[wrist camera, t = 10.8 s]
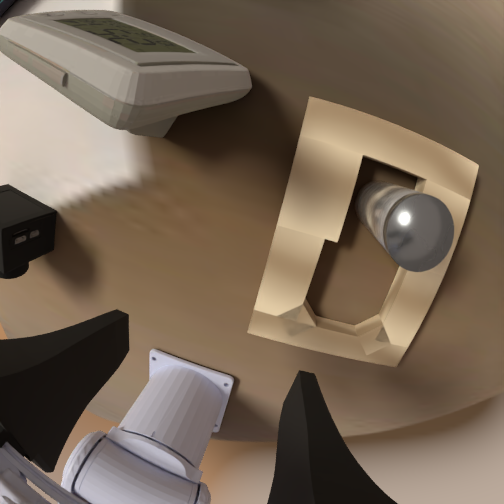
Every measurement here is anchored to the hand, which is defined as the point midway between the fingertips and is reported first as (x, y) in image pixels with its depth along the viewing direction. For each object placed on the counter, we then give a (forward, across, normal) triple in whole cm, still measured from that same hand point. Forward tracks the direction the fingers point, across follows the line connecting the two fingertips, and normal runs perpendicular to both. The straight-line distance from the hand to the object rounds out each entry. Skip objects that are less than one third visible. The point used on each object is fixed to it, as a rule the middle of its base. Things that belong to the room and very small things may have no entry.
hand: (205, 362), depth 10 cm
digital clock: (+10, +10, -13) cm, 20 cm away
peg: (+10, -7, -7) cm, 14 cm away
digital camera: (+10, +24, +2) cm, 26 cm away
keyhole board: (+10, -7, -4) cm, 13 cm away
